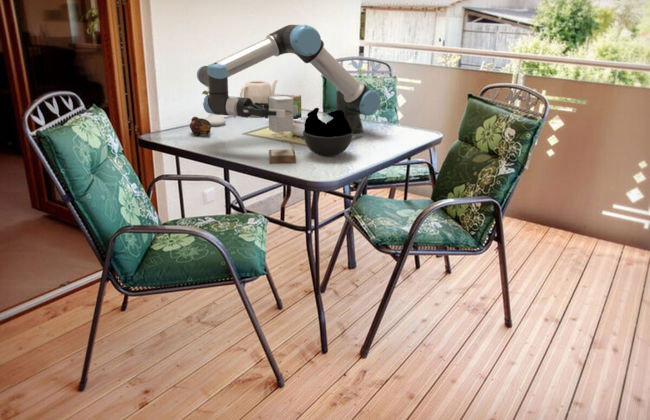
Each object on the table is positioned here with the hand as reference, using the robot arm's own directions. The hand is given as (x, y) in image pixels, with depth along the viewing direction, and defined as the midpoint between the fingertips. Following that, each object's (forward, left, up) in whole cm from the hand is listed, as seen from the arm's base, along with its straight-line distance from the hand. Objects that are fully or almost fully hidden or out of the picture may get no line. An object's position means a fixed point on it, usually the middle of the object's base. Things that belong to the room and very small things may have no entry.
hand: (291, 111), depth 187 cm
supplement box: (+4, -2, -8) cm, 9 cm away
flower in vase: (+36, -73, -20) cm, 84 cm away
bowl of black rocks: (-15, -7, -20) cm, 26 cm away
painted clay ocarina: (+40, -50, -20) cm, 67 cm away
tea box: (-1, -74, -20) cm, 77 cm away
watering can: (+12, -98, -20) cm, 101 cm away
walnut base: (+4, -2, -19) cm, 20 cm away
